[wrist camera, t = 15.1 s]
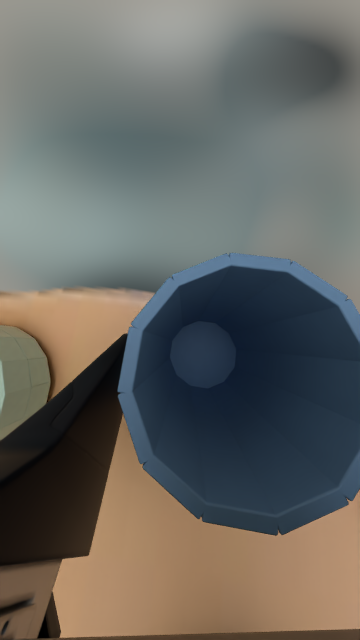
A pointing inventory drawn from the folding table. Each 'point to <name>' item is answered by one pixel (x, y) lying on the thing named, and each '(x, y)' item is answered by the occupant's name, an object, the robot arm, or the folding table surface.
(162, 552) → the folding table surface
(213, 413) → the tumbler
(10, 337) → the bowl
